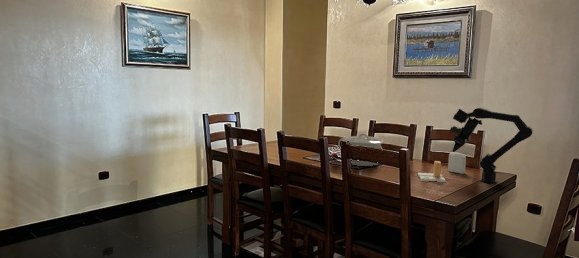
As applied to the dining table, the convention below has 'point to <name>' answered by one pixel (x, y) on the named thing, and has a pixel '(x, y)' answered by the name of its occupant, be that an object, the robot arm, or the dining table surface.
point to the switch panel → (430, 177)
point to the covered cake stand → (363, 141)
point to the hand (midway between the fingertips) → (454, 150)
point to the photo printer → (457, 162)
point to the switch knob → (437, 168)
